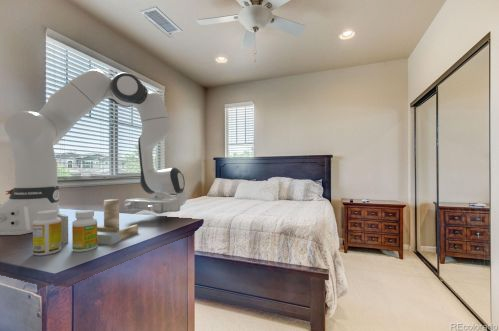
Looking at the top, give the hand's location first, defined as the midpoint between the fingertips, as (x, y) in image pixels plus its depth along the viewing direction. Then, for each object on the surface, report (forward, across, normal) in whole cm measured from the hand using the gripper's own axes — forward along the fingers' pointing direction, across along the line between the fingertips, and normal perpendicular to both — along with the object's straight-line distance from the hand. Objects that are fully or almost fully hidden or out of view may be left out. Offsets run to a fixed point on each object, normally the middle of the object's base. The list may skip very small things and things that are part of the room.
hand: (137, 207), depth 87 cm
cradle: (+11, 0, +7) cm, 13 cm away
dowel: (+12, 0, +7) cm, 14 cm away
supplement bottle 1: (+27, -5, +7) cm, 28 cm away
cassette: (+18, -12, +7) cm, 23 cm away
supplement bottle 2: (+22, +2, +7) cm, 24 cm away
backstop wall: (+17, 0, +7) cm, 18 cm away
